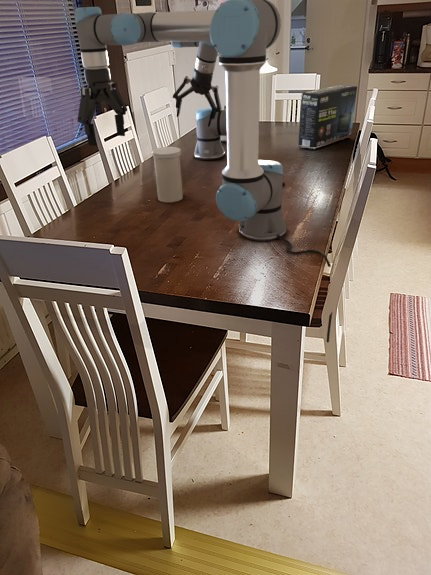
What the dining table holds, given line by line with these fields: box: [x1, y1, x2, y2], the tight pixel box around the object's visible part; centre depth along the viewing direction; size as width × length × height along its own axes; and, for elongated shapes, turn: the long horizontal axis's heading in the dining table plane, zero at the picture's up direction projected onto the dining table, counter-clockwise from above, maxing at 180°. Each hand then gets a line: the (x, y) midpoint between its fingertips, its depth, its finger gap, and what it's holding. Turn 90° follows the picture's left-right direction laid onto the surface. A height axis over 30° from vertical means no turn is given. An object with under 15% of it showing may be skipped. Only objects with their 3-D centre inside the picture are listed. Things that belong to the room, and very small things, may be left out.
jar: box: [153, 155, 184, 203], centre depth 176 cm, size 10×10×18 cm
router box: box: [297, 84, 358, 151], centre depth 238 cm, size 36×11×27 cm, turn 134°
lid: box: [151, 146, 182, 159], centre depth 171 cm, size 11×11×2 cm
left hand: (193, 120), depth 192 cm, fingers open, 13 cm apart
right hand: (107, 140), depth 148 cm, fingers open, 13 cm apart
